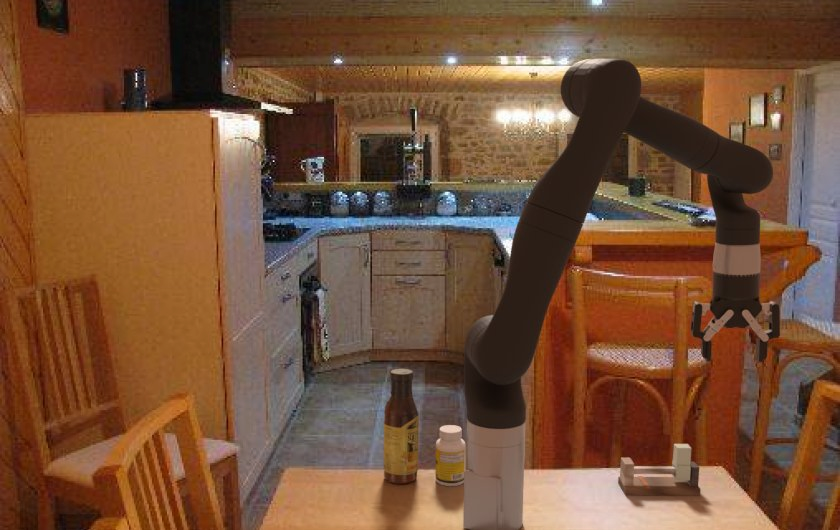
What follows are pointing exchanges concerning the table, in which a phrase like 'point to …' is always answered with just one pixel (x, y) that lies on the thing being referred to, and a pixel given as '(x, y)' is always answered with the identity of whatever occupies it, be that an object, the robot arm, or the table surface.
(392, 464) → the sauce bottle
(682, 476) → the white upright block
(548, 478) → the table surface
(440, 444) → the supplement bottle
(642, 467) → the board
